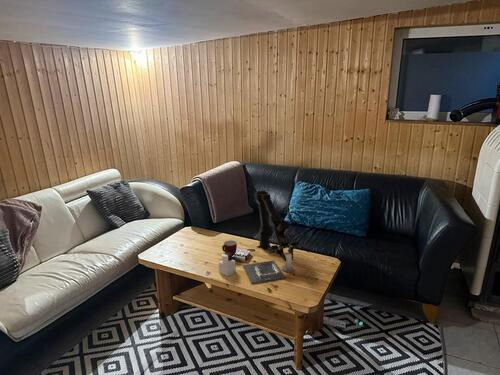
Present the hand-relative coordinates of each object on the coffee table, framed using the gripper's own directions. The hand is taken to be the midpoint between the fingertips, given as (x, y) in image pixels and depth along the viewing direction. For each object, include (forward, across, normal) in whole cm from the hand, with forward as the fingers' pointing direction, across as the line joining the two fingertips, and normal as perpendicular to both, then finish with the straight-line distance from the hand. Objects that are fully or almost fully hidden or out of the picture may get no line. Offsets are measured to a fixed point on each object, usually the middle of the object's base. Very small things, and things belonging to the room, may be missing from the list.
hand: (289, 260), depth 191 cm
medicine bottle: (-4, -34, +14) cm, 37 cm away
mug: (-17, -27, +27) cm, 41 cm away
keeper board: (+2, -15, +8) cm, 17 cm away
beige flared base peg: (+4, 0, +6) cm, 7 cm away
